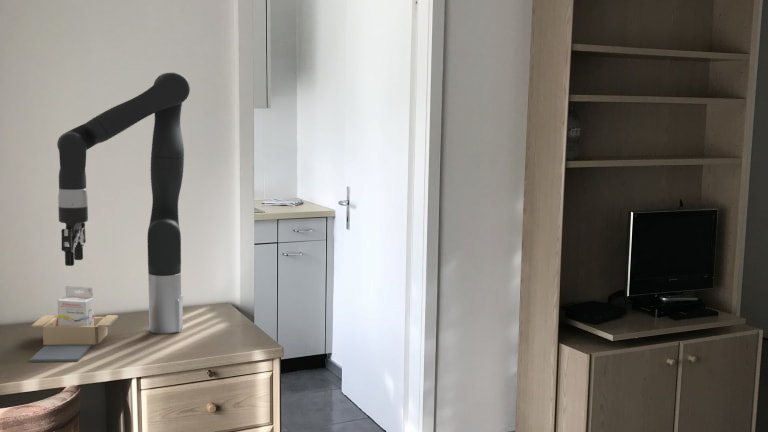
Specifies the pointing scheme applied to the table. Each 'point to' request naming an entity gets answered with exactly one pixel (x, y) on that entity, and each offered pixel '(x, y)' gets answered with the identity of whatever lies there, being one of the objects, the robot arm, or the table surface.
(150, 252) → the robot arm
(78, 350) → the mat
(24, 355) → the table surface
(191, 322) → the table surface
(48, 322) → the carton
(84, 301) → the ink cartridge box
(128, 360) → the table surface
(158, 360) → the table surface
